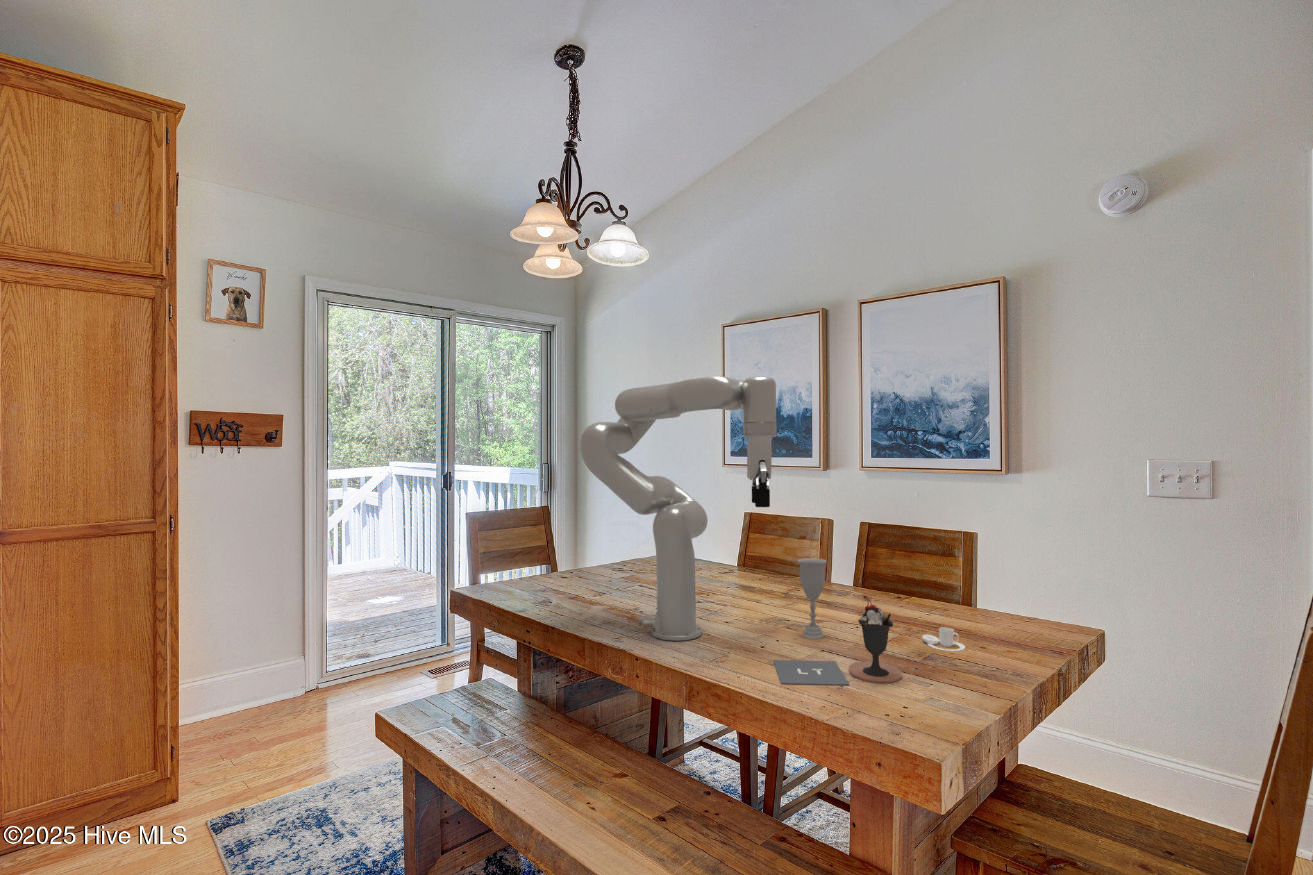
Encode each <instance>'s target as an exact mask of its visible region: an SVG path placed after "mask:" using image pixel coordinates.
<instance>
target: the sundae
mask: <svg viewBox="0 0 1313 875" xmlns="http://www.w3.org/2000/svg"><path fill="white" fill-rule="evenodd" d="M862 597H863V598H864V599H865V600H866V601H867V605H866V606H865V607H864V610H865V611H864V612H863V613H861V616H860V617H859V619H857V622H858V623H859V625H861V629H862V630H861V631H862V637H863V642H864V643H863V644H864V648H865V649H866V650H867V652H869V653H870V654H871V655H872V660H871V661H872V665H871V666H870V667H866V668H864V669H863V672H864V673H865V674H868V675H871V676H877V677H882V676H887V675H888V674H889V672H888V671H887V670H885V669H883V668H881V667H880V665H879V662H880V661H879V660H880V659H879V658H880V655H881V654H883V653H885V652H886V650H887V646H888V639H889V633H890V632H889V631H890V628H891V627H893V626H894V621H893V620H891V619H890V618H891V614H892V613H889V614H888V615H887V616H885V612H884V611H883V610H882V609H881V608H880V607H876V605H875V604H872V602H871V601H870V599H869V598H868V597H867V595H863V596H862ZM869 603H870V605H869Z"/></svg>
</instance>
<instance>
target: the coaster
mask: <svg viewBox="0 0 1313 875" xmlns="http://www.w3.org/2000/svg"><path fill="white" fill-rule="evenodd" d="M872 661H873V660H866V661H865V660H863V661H856V662H853V663H851V664H850V665H849V666H848V673H849V674H850V675H851V676H852V677H854V678H856V679H857V680H860V681H864V682H868V683H876V684H889V683H890V684H892V683H895V682H899V681H900V680H901V679H902V677H903V676H902V675H903V674H902V670H901V669H899V667H897V666H895V665H892V664H889V663H886V662H880V661H879V665H880V667H881V668H883V669H885V670H887V671H888V672H889V674H888V675H887V676H882V677H877V676H871V675H868V674H865V673H864V672H863V669H864V668H866V667H870V666H871V665H872Z"/></svg>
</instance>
